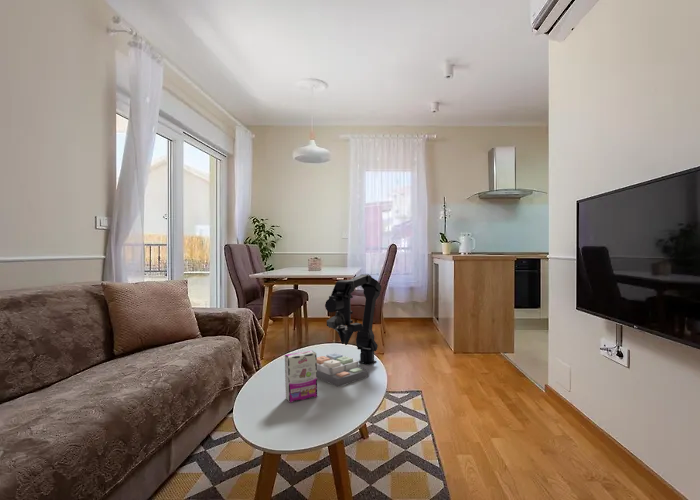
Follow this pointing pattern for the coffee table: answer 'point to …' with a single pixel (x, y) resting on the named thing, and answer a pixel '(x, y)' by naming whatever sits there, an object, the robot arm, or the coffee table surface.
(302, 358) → the candy bar box
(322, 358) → the peach flat square block
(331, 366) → the cream key
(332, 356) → the slate key
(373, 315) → the robot arm
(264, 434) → the coffee table surface
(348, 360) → the sage key
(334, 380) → the keypad
